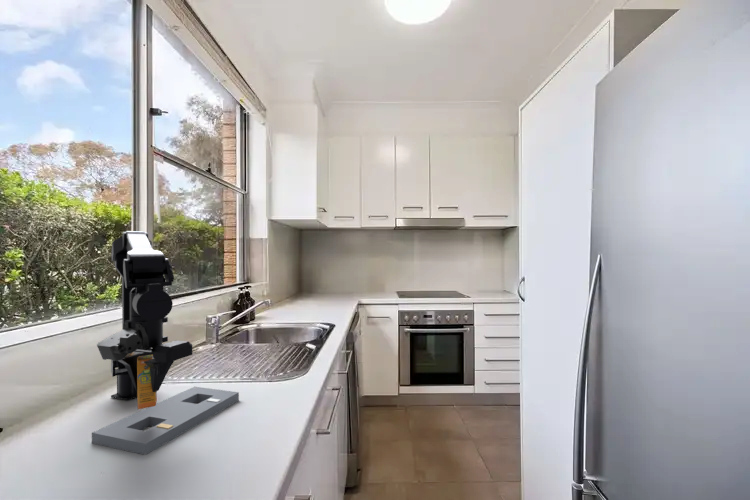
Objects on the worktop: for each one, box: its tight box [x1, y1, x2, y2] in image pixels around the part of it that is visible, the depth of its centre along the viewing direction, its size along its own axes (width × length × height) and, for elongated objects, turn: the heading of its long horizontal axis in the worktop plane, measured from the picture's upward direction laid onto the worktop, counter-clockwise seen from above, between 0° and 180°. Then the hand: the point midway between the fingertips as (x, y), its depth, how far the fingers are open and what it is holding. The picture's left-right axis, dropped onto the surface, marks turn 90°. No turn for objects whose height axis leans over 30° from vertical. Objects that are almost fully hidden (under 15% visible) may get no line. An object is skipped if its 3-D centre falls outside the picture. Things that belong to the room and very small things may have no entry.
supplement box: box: [136, 355, 158, 410], centre depth 72 cm, size 3×3×10 cm
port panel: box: [91, 386, 240, 455], centre depth 78 cm, size 14×25×2 cm, turn 162°
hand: (146, 390), depth 72 cm, fingers closed on supplement box, 4 cm apart
